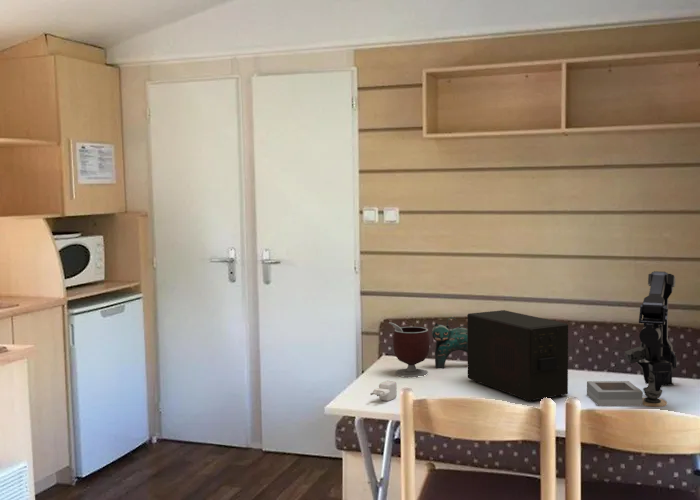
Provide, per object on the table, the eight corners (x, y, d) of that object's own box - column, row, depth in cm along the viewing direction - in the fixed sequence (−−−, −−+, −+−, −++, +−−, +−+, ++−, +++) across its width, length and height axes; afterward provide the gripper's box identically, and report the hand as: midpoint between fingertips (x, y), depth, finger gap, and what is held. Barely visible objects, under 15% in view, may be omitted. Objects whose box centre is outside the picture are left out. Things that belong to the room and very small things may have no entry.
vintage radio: (579, 397, 257) (579, 323, 255) (533, 405, 248) (533, 329, 246) (508, 374, 291) (508, 308, 289) (466, 380, 282) (466, 313, 280)
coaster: (661, 399, 253) (661, 397, 253) (671, 406, 244) (671, 404, 244) (633, 399, 253) (633, 397, 253) (642, 406, 244) (642, 405, 244)
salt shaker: (643, 402, 247) (645, 366, 245) (642, 396, 252) (644, 361, 250) (662, 404, 245) (665, 368, 243) (661, 398, 250) (663, 363, 248)
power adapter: (380, 406, 250) (380, 388, 250) (368, 403, 253) (367, 386, 253) (398, 398, 259) (398, 381, 259) (386, 396, 262) (386, 379, 262)
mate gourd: (430, 369, 299) (430, 319, 298) (429, 378, 286) (428, 325, 284) (391, 369, 302) (390, 318, 300) (387, 377, 288) (387, 325, 287)
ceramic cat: (433, 369, 300) (432, 319, 298) (430, 365, 306) (429, 316, 305) (483, 367, 302) (483, 317, 300) (479, 364, 308) (478, 314, 306)
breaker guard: (628, 394, 260) (628, 381, 259) (642, 405, 246) (642, 391, 246) (586, 394, 260) (586, 381, 260) (598, 405, 246) (598, 392, 246)
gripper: (618, 334, 257) (618, 380, 258) (637, 345, 238) (636, 395, 239) (652, 334, 256) (651, 380, 257) (673, 345, 238) (672, 395, 239)
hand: (652, 387), depth 248 cm, fingers open, 9 cm apart
